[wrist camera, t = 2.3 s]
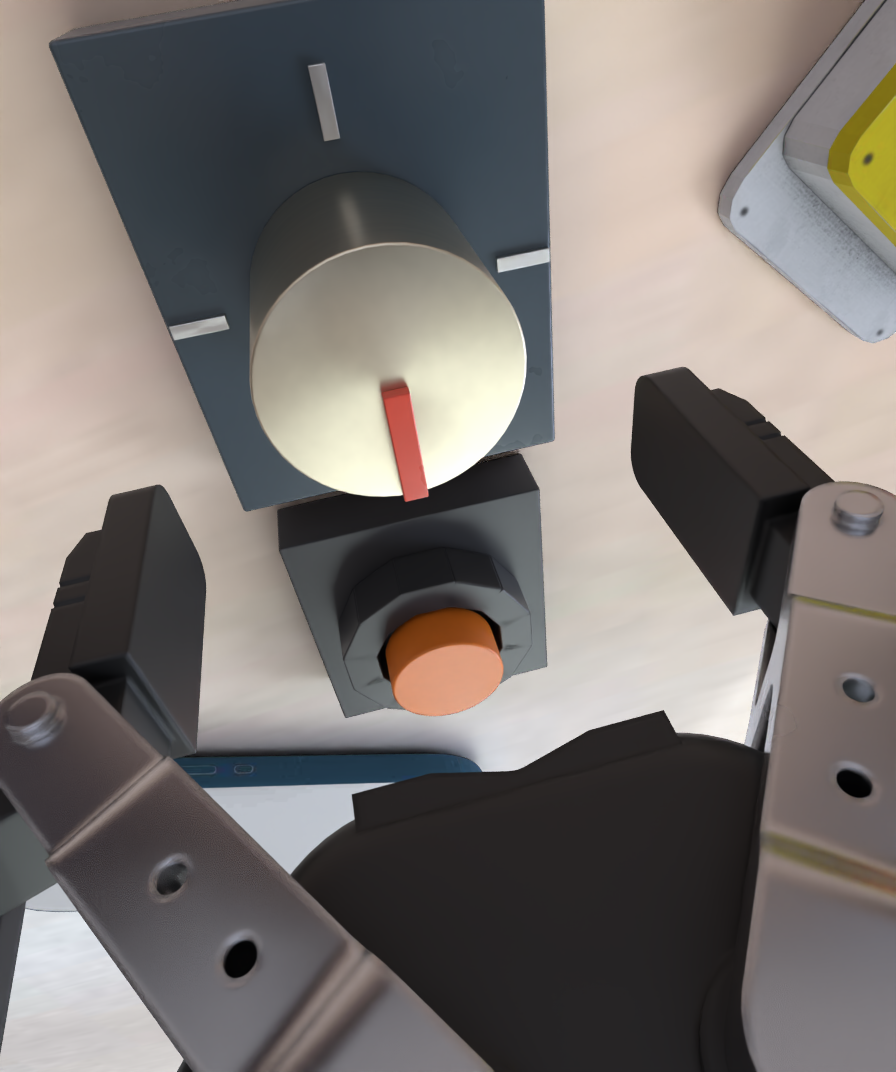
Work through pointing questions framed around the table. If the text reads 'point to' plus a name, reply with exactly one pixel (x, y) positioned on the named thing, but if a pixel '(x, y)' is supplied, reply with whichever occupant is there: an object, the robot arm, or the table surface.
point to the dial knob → (378, 339)
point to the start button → (443, 662)
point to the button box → (418, 572)
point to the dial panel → (315, 165)
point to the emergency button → (831, 180)
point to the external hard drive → (290, 798)
